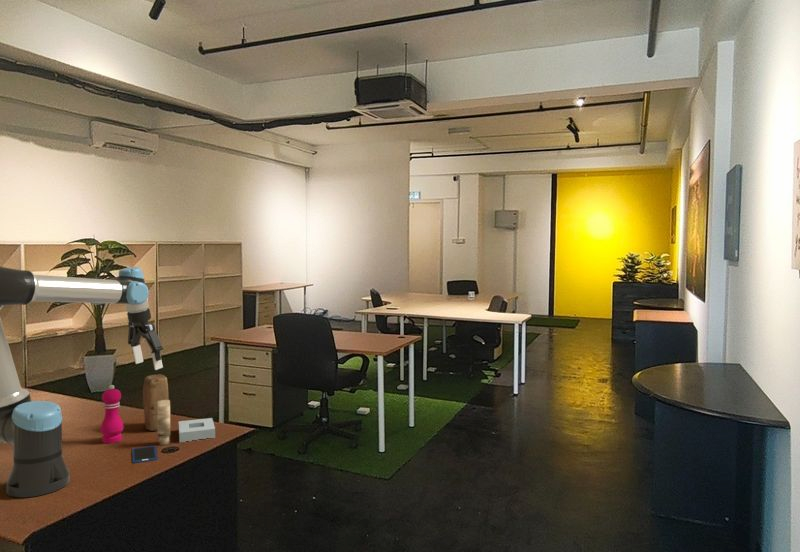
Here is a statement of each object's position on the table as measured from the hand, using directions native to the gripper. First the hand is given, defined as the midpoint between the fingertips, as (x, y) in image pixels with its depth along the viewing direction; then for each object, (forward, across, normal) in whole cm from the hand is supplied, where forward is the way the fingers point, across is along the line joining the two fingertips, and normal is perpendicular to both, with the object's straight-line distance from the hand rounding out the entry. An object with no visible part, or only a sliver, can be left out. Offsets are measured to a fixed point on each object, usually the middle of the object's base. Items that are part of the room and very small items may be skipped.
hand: (149, 365), depth 202 cm
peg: (+24, -14, +7) cm, 29 cm away
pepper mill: (+23, +3, +17) cm, 28 cm away
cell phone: (+23, -19, +16) cm, 34 cm away
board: (+27, -14, -5) cm, 31 cm away
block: (+26, +5, 0) cm, 27 cm away
